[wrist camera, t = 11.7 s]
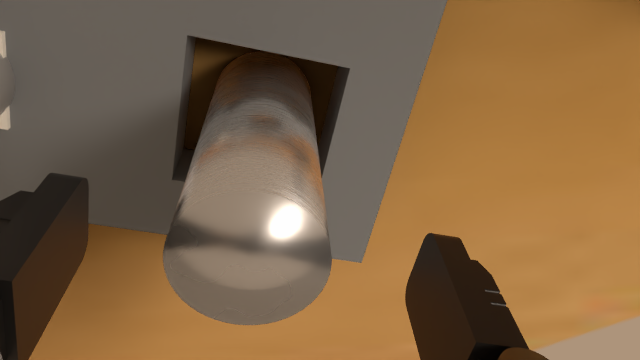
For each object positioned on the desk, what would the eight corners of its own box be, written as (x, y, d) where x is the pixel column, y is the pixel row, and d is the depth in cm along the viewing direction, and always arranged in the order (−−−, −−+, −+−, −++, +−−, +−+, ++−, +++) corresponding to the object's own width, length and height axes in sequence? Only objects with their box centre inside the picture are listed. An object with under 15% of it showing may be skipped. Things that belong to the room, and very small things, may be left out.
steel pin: (320, 62, 20) (349, 206, 11) (300, 148, 21) (312, 333, 13) (222, 42, 19) (170, 177, 10) (209, 132, 21) (156, 314, 12)
